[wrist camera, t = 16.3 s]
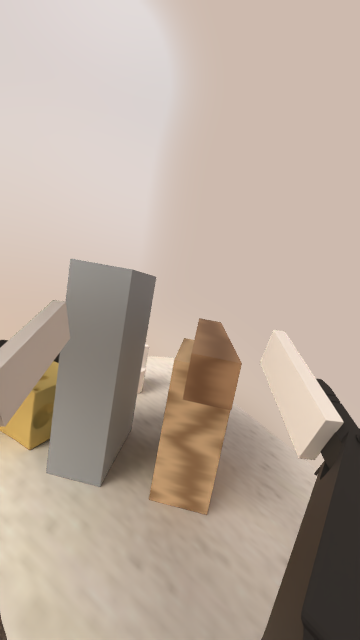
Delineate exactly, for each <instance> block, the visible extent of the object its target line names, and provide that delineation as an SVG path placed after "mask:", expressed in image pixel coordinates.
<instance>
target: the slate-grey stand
mask: <svg viewBox="0 0 360 640" xmlns="http://www.w3.org/2000/svg"><path fill="white" fill-rule="evenodd" d="M155 281H156V277H155V276H152V275H148V274H145V273H142V272H138V271H135V270H131V269H126V268H120V267H114V266H108V265H103V264H98V263H92V262H86V261H81V260H75V259H70V268H69V277H68V286H67V295H66V307H67V316H68V324H69V333H70V339H69V340H68V342H67V343H66V345H65V346H64V347H63V349H62V350H61V351H60V356H59V365H58V374H57V382H56V391H55V400H54V409H53V418H52V426H51V435H50V444H49V453H48V461H47V470H46V473H49V474H52V475H56V476H60V477H64V478H68V479H72V480H75V481H79V482H83V483H87V484H91V485H94V486H98V487H100V486H101V484H102V482H103V480H104V479H105V477H106V475H107V473H108V471H109V469H110V467H111V466H112V464H113V462H114V460H115V458H116V456H117V455H118V453H119V451H120V449H121V447H122V445H123V443H124V442H125V440H126V438H127V436H128V434H129V432H130V431H131V428H132V422H133V415H134V409H135V403H136V397H137V391H138V385H139V379H140V373H141V367H142V361H143V354H144V348H145V342H146V336H147V330H148V324H149V317H150V312H151V306H152V299H153V293H154V287H155Z"/></svg>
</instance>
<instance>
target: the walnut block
mask: <svg viewBox="0 0 360 640" xmlns="http://www.w3.org/2000/svg"><path fill="white" fill-rule="evenodd" d="M241 364H242V363H241V361H240V359H239V357H238V355H237V353H236V351H235V349H234V347H233V345H232V343H231V341H230V339H229V338H228V336H227V333H226V331H225V329H224V327H223V326H222V324H221V322H216V321H211V320H205V319H199V322H198V327H197V331H196V336H195V340H194V344H193V349H192V353H191V358H190V364H189V369H188V374H187V379H186V384H185V390H184V395H183V400H186V401H190V402H195V403H199V404H204V405H208V406H213V407H217V408H222V409H226V410H231V409H232V404H233V400H234V396H235V391H236V387H237V382H238V377H239V373H240V369H241Z"/></svg>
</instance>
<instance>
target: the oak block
mask: <svg viewBox="0 0 360 640" xmlns="http://www.w3.org/2000/svg"><path fill="white" fill-rule="evenodd" d="M193 344H194V340H191V339H186V338H184V340H183V342H182V344H181V347H180V349H179V351H178V353H177V356H176V358H175V360H174V365H173V370H172V376H171V381H170V387H169V392H168V398H167V403H166V408H165V414H164V419H163V425H162V430H161V436H160V441H159V447H158V452H157V458H156V463H155V469H154V474H153V480H152V485H151V490H150V496H149V500H152V501H156V502H160V503H163V504H167V505H171V506H175V507H179V508H183V509H186V510H190V511H194V512H198V513H202V514H206V515H207V512H208V507H209V503H210V499H211V494H212V490H213V485H214V481H215V476H216V472H217V467H218V463H219V458H220V454H221V449H222V445H223V440H224V436H225V431H226V427H227V422H228V418H229V413H230V410H226V409H222V408H217V407H213V406H208V405H204V404H199V403H195V402H190V401H186V400H183V395H184V390H185V384H186V379H187V374H188V369H189V364H190V358H191V353H192V349H193Z"/></svg>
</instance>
